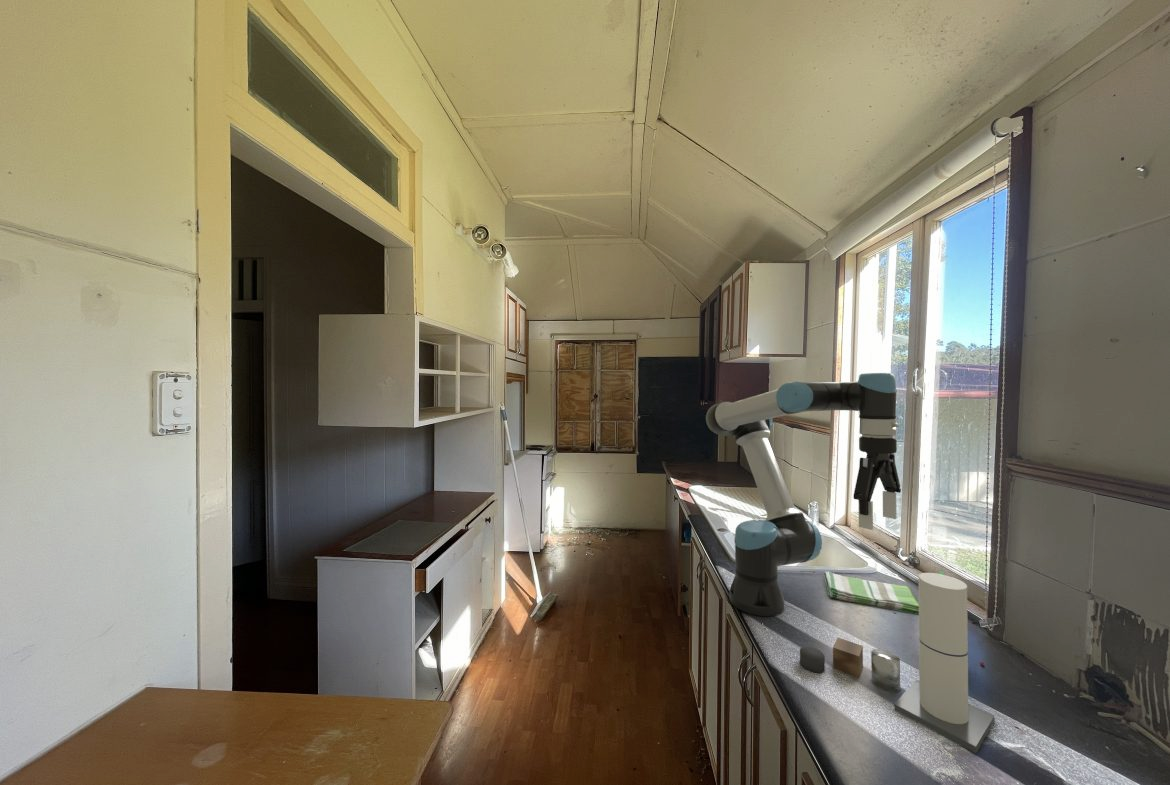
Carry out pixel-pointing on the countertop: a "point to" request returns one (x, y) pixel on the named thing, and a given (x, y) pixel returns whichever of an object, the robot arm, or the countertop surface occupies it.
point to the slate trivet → (961, 734)
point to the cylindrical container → (943, 647)
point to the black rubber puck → (812, 660)
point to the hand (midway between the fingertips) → (878, 522)
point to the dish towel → (871, 593)
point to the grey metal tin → (885, 670)
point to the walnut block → (848, 657)
